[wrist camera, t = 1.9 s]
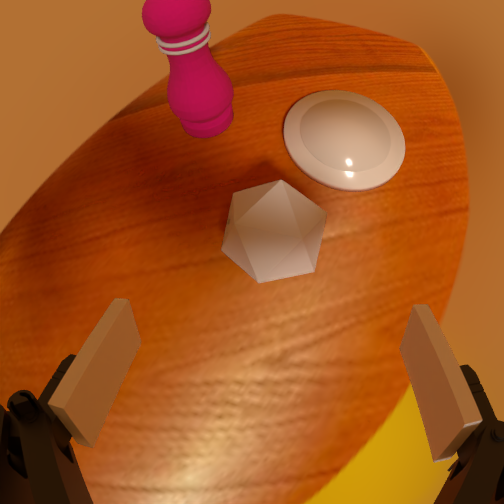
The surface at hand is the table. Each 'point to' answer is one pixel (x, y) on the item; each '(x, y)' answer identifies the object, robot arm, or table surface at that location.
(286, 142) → the plate
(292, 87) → the table surface
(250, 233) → the die
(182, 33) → the pepper mill
